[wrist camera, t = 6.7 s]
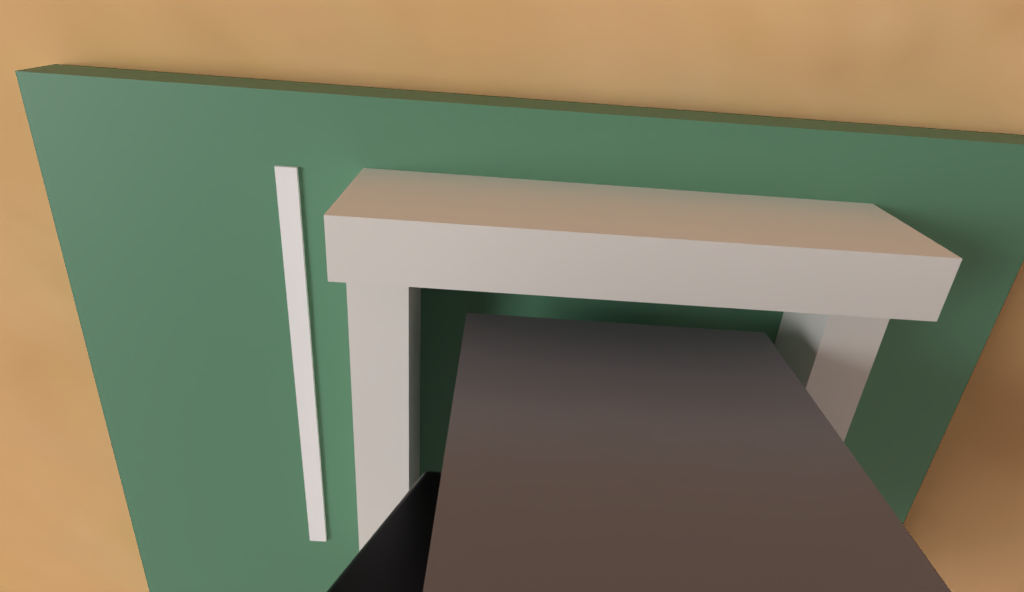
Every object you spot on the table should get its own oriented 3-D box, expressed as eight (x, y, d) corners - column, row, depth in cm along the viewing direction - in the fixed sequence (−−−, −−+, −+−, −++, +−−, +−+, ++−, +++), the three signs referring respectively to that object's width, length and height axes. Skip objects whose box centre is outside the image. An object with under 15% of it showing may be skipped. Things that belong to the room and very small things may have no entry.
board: (1031, 135, 9) (1223, 191, 7) (819, 636, 14) (884, 777, 12) (55, 64, 9) (-125, 94, 6) (179, 602, 14) (103, 740, 11)
